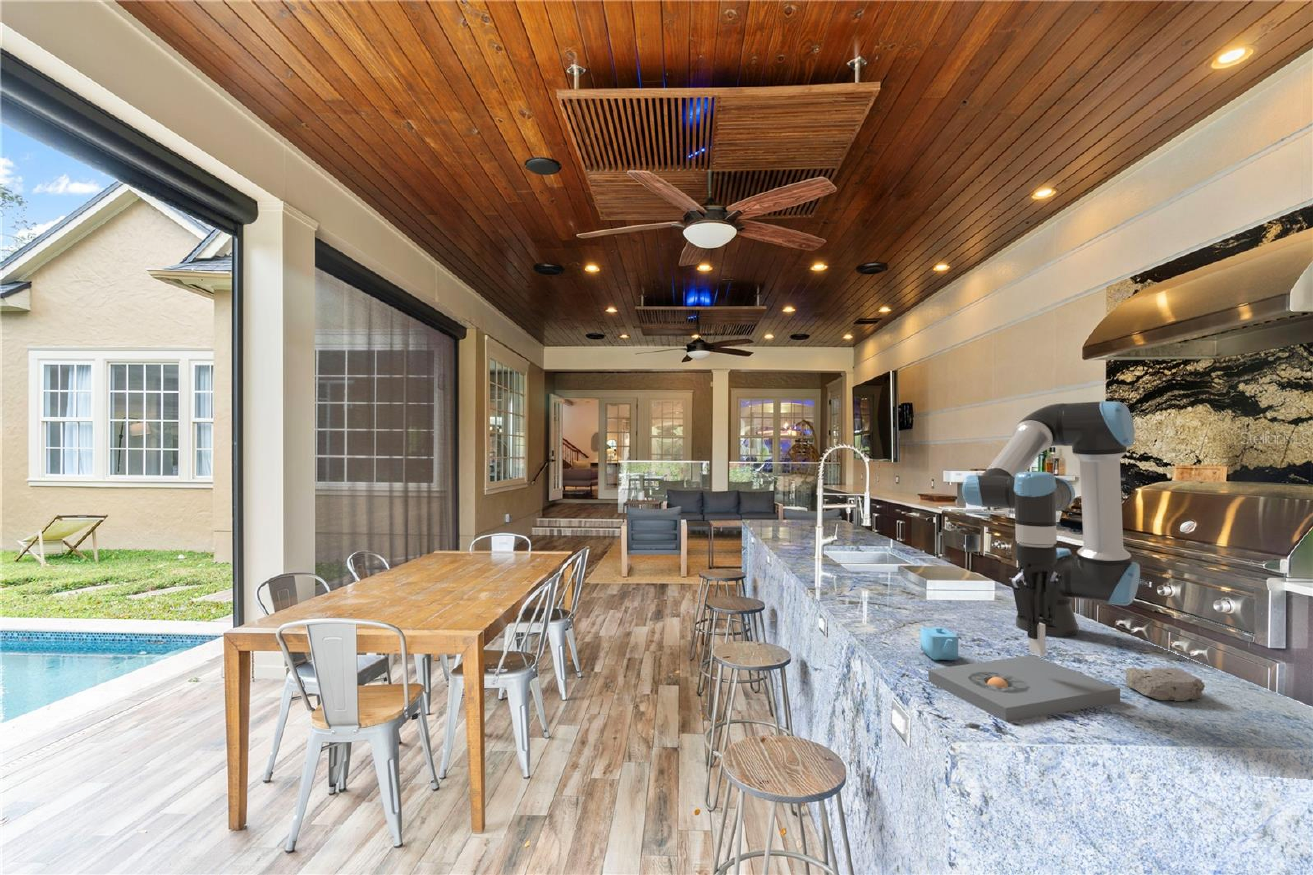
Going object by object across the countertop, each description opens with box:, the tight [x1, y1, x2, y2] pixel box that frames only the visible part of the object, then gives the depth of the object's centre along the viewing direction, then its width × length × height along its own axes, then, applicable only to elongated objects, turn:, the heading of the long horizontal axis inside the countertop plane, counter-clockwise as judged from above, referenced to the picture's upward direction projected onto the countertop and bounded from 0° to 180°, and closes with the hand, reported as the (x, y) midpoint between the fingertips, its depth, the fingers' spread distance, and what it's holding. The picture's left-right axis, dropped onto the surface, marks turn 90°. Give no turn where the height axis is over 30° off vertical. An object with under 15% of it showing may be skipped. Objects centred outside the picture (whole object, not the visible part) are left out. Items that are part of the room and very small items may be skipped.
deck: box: [927, 654, 1121, 723], centre depth 128 cm, size 30×20×3 cm, turn 107°
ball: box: [987, 677, 1008, 688], centre depth 126 cm, size 4×4×4 cm
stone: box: [1125, 666, 1206, 702], centre depth 127 cm, size 13×6×10 cm
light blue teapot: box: [920, 626, 959, 661], centre depth 147 cm, size 12×6×8 cm, turn 178°
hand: (1037, 652), depth 129 cm, fingers closed
